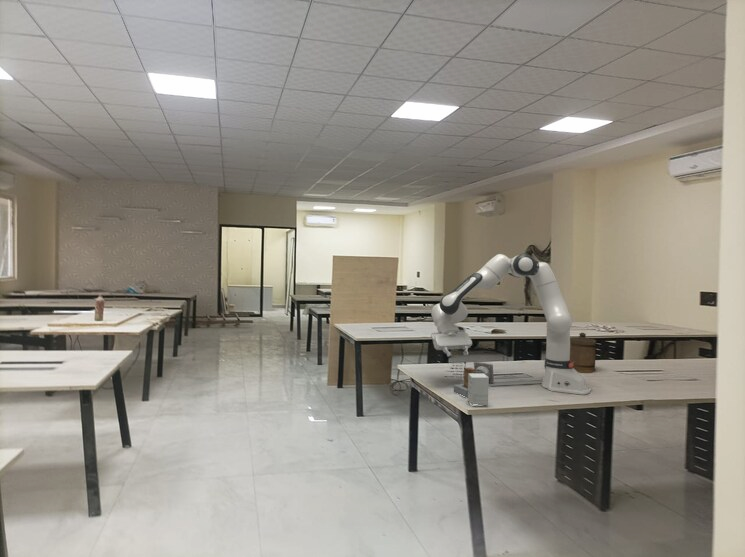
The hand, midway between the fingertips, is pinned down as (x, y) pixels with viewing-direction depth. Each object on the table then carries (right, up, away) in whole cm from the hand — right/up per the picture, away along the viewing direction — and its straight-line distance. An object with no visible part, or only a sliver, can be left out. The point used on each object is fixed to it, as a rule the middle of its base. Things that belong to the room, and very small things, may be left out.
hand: (458, 355), depth 230 cm
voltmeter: (+8, -16, +16) cm, 24 cm away
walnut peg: (+3, -17, -8) cm, 19 cm away
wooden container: (+81, -17, +49) cm, 96 cm away
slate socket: (+3, -17, -8) cm, 19 cm away
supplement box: (+4, -18, -23) cm, 29 cm away
